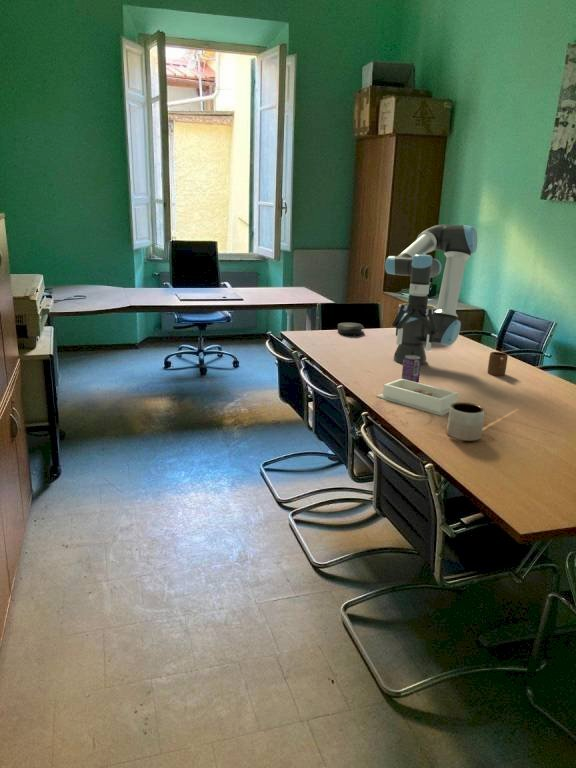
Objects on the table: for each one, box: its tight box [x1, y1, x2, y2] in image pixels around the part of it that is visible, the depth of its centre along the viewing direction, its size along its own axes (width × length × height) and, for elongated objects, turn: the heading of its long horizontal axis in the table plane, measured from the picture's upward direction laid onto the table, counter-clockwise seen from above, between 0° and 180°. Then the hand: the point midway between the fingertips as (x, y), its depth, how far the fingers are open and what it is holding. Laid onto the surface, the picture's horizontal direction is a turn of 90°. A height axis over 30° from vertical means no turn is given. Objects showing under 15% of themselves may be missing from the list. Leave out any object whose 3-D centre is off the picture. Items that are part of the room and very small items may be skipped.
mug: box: [487, 351, 509, 377], centre depth 255 cm, size 12×8×9 cm, turn 175°
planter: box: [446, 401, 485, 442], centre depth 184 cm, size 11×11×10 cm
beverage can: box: [401, 355, 422, 383], centre depth 236 cm, size 7×7×12 cm
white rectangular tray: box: [375, 378, 459, 417], centre depth 217 cm, size 28×16×5 cm, turn 47°
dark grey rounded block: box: [337, 322, 365, 337], centre depth 324 cm, size 14×18×8 cm
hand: (413, 347), depth 233 cm, fingers open, 13 cm apart
